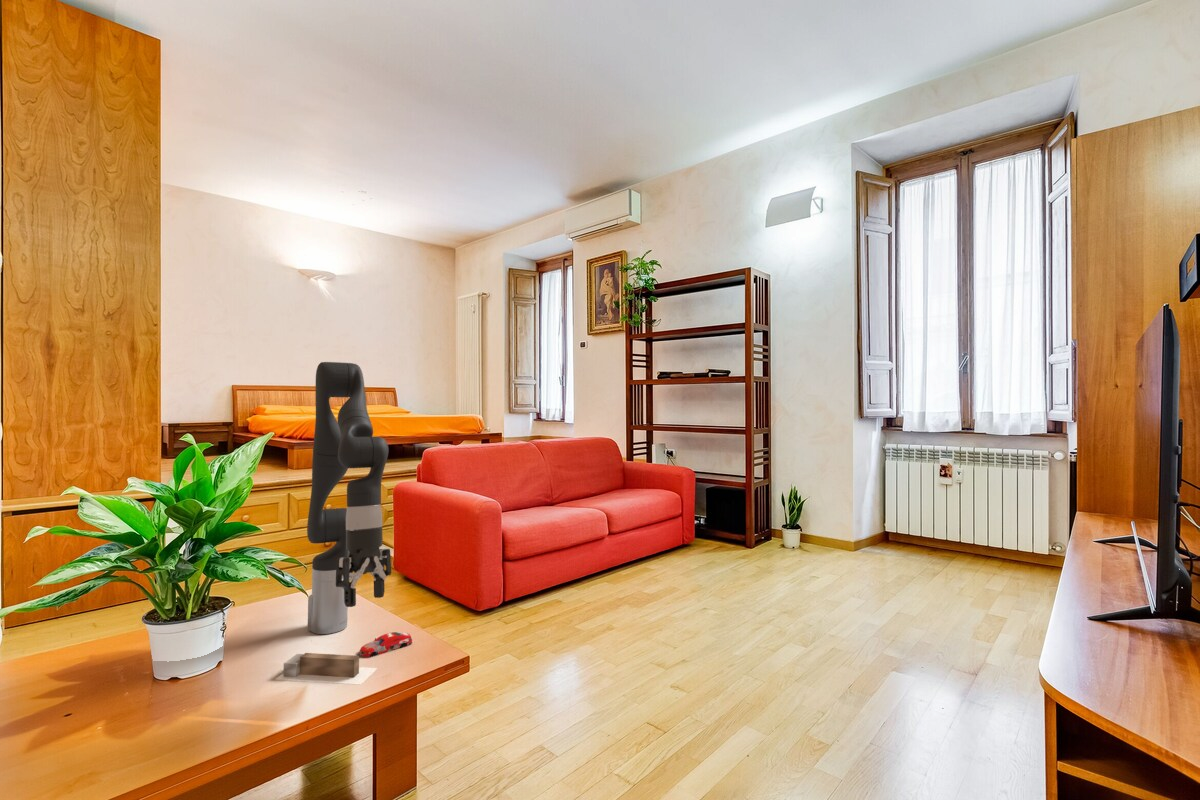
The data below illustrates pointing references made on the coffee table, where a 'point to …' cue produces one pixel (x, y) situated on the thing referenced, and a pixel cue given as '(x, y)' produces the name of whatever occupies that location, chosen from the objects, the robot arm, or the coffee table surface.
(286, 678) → the pad
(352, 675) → the brown and gray block
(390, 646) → the race car
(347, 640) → the coffee table surface
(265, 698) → the coffee table surface
